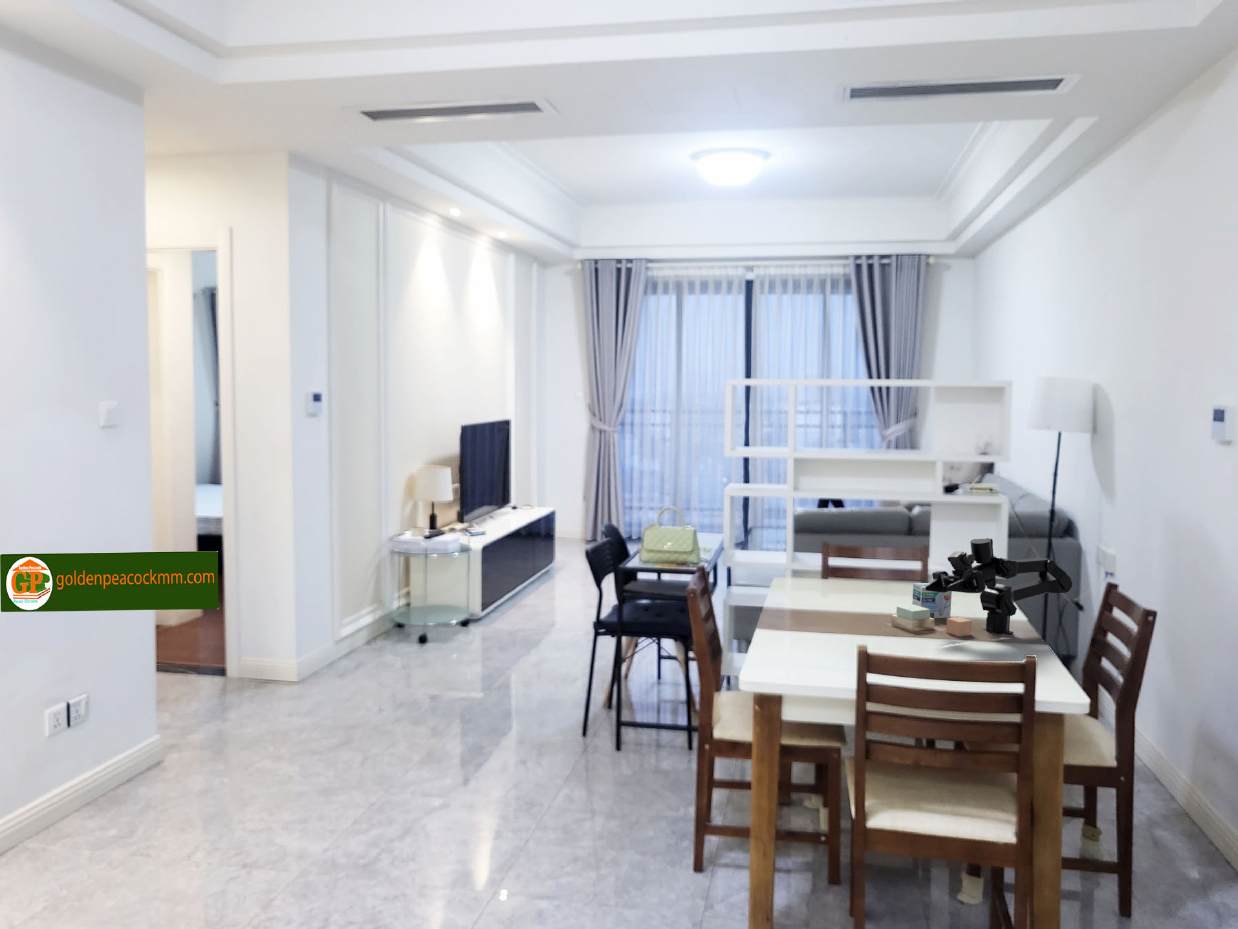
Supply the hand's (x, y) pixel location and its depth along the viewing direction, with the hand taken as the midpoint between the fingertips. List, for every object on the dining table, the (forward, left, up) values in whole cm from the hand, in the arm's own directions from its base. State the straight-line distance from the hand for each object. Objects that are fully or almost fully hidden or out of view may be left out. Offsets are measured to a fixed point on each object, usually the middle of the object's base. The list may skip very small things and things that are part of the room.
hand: (936, 588), depth 283 cm
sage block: (-4, -14, -12) cm, 18 cm away
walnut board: (-7, -13, -15) cm, 21 cm away
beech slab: (-4, -14, -15) cm, 20 cm away
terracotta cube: (-11, -2, -16) cm, 19 cm away
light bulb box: (-20, -23, -16) cm, 34 cm away
